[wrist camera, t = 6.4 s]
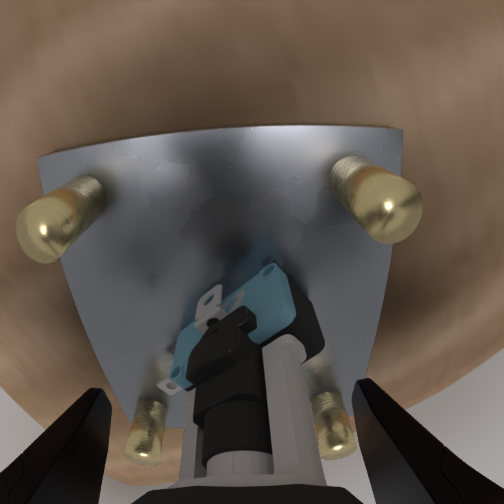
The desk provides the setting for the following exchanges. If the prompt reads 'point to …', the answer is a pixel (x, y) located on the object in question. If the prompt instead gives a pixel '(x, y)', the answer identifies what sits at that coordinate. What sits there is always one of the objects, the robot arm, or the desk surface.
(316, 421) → the chassis
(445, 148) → the desk surface
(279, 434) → the push button
